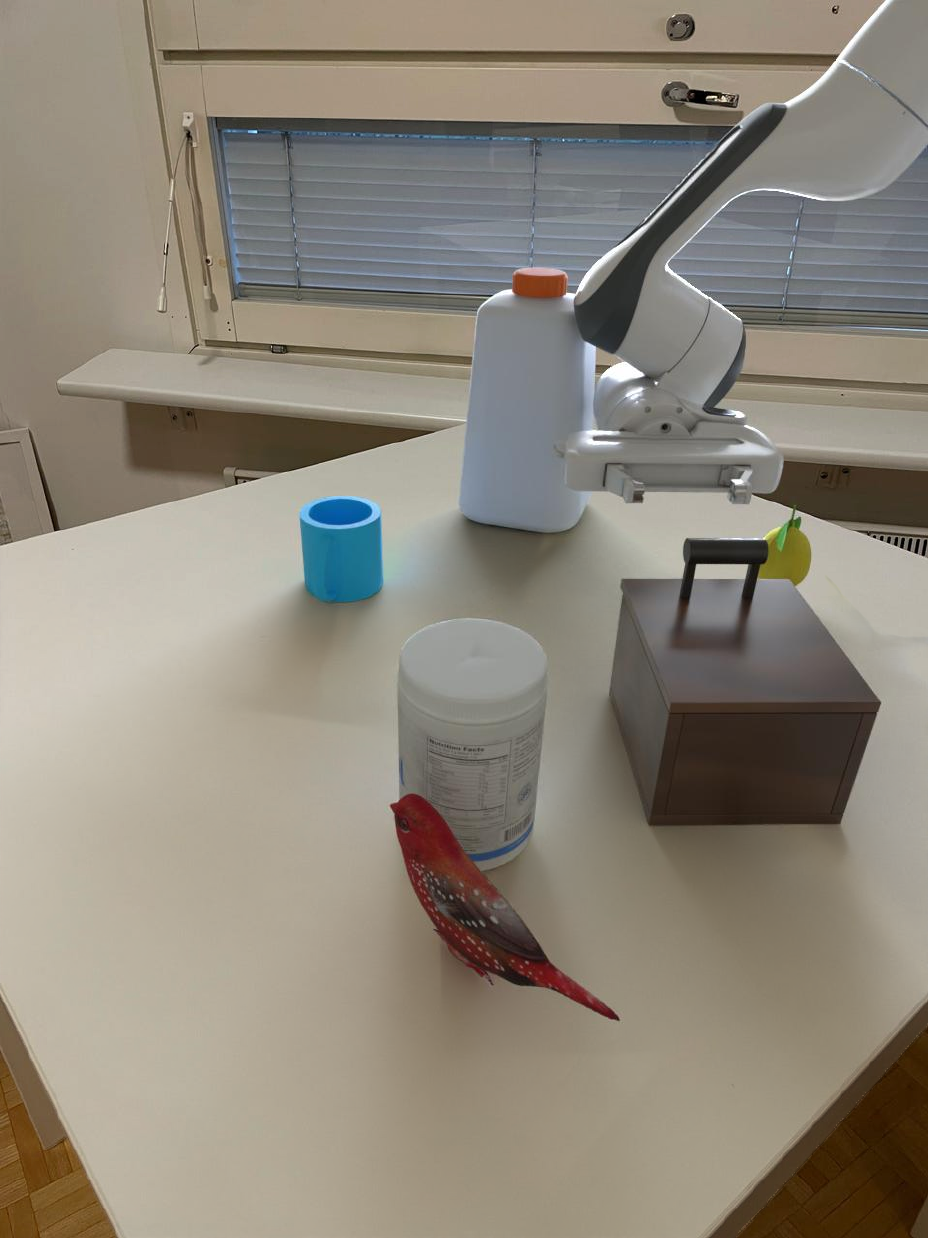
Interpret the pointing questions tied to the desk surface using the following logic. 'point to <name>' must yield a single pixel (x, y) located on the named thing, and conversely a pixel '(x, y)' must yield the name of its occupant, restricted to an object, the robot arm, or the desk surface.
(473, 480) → the plastic bottle
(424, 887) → the decorative bird figurine
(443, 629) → the supplement tub
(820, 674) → the chest lid
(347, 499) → the mug
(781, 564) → the lemon
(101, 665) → the desk surface
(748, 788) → the chest
